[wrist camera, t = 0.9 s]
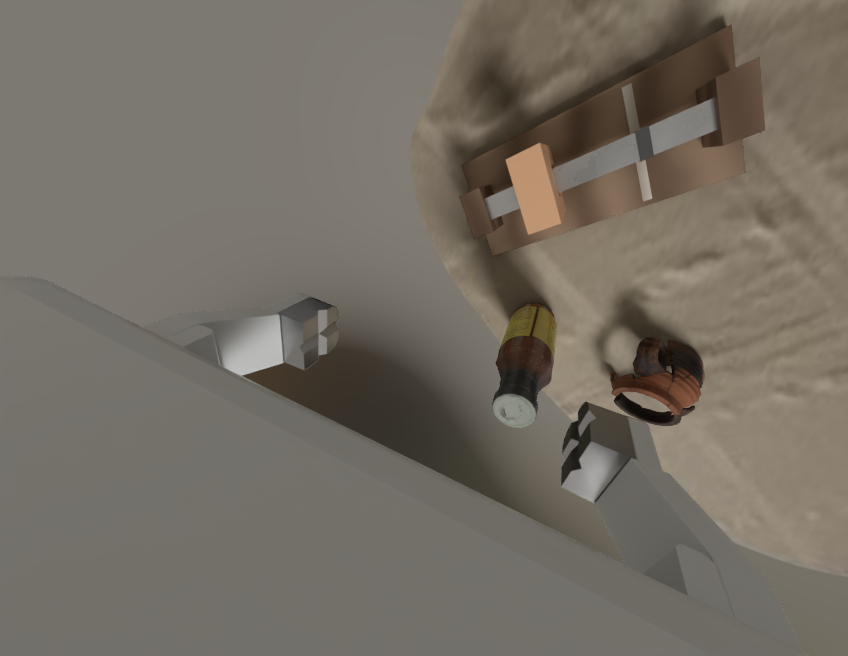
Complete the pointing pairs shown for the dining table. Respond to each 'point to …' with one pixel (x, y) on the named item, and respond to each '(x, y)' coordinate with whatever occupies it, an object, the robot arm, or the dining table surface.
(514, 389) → the sauce bottle
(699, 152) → the rod stand
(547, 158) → the collar
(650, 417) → the broken clay pot
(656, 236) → the dining table surface
